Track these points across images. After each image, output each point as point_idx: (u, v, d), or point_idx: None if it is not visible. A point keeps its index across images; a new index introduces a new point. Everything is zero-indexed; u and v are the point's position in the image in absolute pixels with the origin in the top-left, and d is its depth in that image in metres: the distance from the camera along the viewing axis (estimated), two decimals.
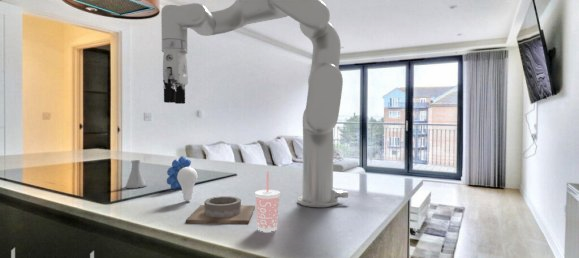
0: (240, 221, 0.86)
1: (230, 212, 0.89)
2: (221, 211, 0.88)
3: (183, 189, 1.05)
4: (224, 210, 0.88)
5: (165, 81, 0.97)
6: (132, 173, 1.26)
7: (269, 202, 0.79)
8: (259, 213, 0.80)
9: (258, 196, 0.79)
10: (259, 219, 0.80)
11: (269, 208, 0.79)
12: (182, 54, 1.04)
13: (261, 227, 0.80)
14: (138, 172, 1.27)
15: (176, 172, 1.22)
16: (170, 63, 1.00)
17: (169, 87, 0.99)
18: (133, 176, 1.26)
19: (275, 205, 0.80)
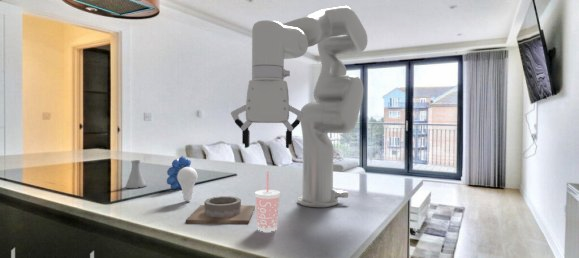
0: (240, 221, 0.86)
1: (230, 212, 0.89)
2: (221, 211, 0.88)
3: (183, 189, 1.05)
4: (224, 210, 0.88)
5: (299, 122, 0.80)
6: (132, 173, 1.26)
7: (269, 202, 0.79)
8: (259, 213, 0.80)
9: (258, 196, 0.79)
10: (259, 219, 0.80)
11: (269, 208, 0.79)
12: None
13: (261, 227, 0.80)
14: (138, 172, 1.27)
15: (176, 172, 1.22)
16: (288, 99, 0.81)
17: None
18: (133, 176, 1.26)
19: (275, 205, 0.80)
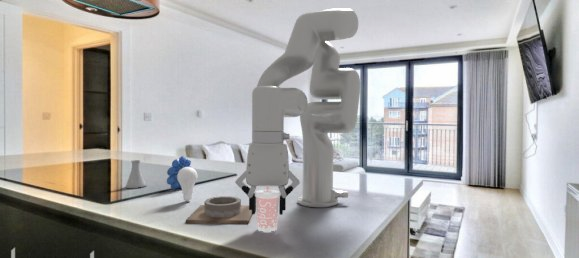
0: (240, 221, 0.86)
1: (230, 212, 0.89)
2: (221, 211, 0.88)
3: (183, 189, 1.05)
4: (224, 210, 0.88)
5: None
6: (132, 173, 1.26)
7: (269, 202, 0.79)
8: (259, 213, 0.80)
9: (258, 196, 0.79)
10: (259, 219, 0.80)
11: (269, 208, 0.79)
12: None
13: (261, 227, 0.80)
14: (138, 172, 1.27)
15: (176, 172, 1.22)
16: (288, 161, 0.81)
17: None
18: (133, 176, 1.26)
19: (275, 205, 0.80)
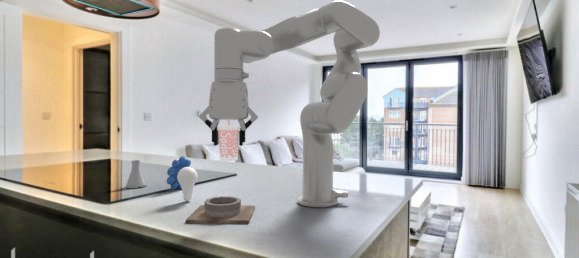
0: (240, 221, 0.86)
1: (230, 212, 0.89)
2: (221, 211, 0.88)
3: (183, 189, 1.05)
4: (224, 210, 0.88)
5: (251, 123, 0.90)
6: (132, 173, 1.26)
7: (229, 133, 0.87)
8: (220, 144, 0.88)
9: (219, 128, 0.88)
10: (221, 149, 0.88)
11: (229, 139, 0.88)
12: None
13: (222, 157, 0.88)
14: (138, 172, 1.27)
15: (176, 172, 1.22)
16: (247, 98, 0.90)
17: None
18: (133, 176, 1.26)
19: (235, 137, 0.88)
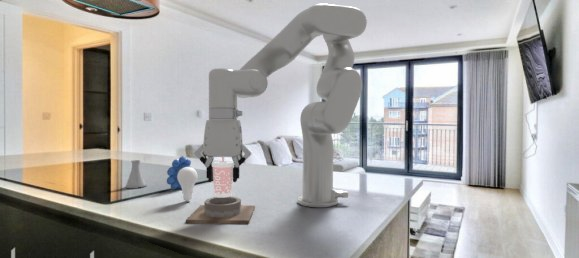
0: (240, 221, 0.86)
1: (230, 212, 0.89)
2: (221, 211, 0.88)
3: (183, 189, 1.05)
4: (224, 210, 0.88)
5: None
6: (132, 173, 1.26)
7: (223, 170, 0.90)
8: (215, 181, 0.91)
9: (213, 165, 0.90)
10: (215, 186, 0.91)
11: (223, 176, 0.90)
12: None
13: (216, 193, 0.91)
14: (138, 172, 1.27)
15: (176, 172, 1.22)
16: (241, 135, 0.92)
17: None
18: (133, 176, 1.26)
19: (229, 173, 0.91)
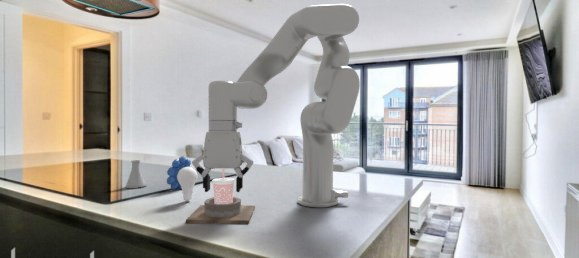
0: (240, 221, 0.86)
1: (230, 212, 0.89)
2: (221, 211, 0.88)
3: (183, 189, 1.05)
4: (224, 210, 0.88)
5: None
6: (132, 173, 1.26)
7: (223, 187, 0.90)
8: (215, 197, 0.91)
9: (214, 182, 0.91)
10: (215, 203, 0.91)
11: (223, 193, 0.90)
12: None
13: None
14: (138, 172, 1.27)
15: (176, 172, 1.22)
16: (241, 147, 0.92)
17: None
18: (133, 176, 1.26)
19: (229, 190, 0.91)
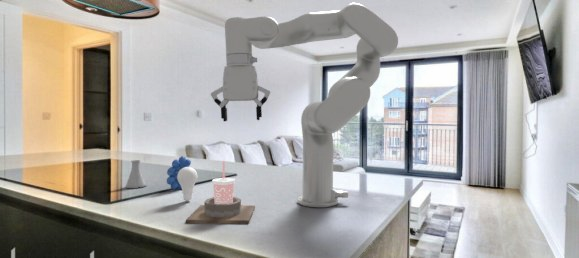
0: (240, 221, 0.86)
1: (230, 212, 0.89)
2: (221, 211, 0.88)
3: (183, 189, 1.05)
4: (224, 210, 0.88)
5: None
6: (132, 173, 1.26)
7: (223, 187, 0.90)
8: (215, 197, 0.91)
9: (214, 182, 0.90)
10: (215, 203, 0.91)
11: (223, 193, 0.90)
12: None
13: None
14: (138, 172, 1.27)
15: (176, 172, 1.22)
16: (257, 81, 1.00)
17: None
18: (133, 176, 1.26)
19: (229, 190, 0.91)
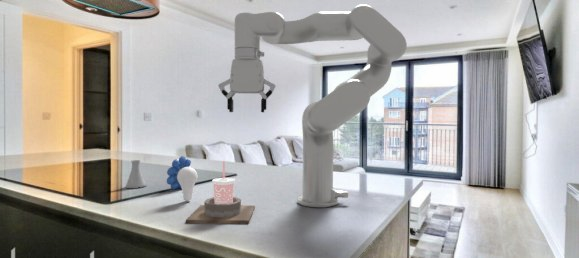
0: (240, 221, 0.86)
1: (230, 212, 0.89)
2: (221, 211, 0.88)
3: (183, 189, 1.05)
4: (224, 210, 0.88)
5: None
6: (132, 173, 1.26)
7: (223, 187, 0.90)
8: (215, 197, 0.91)
9: (214, 182, 0.90)
10: (215, 203, 0.91)
11: (223, 193, 0.90)
12: None
13: None
14: (138, 172, 1.27)
15: (176, 172, 1.22)
16: (263, 74, 1.04)
17: None
18: (133, 176, 1.26)
19: (229, 191, 0.91)
